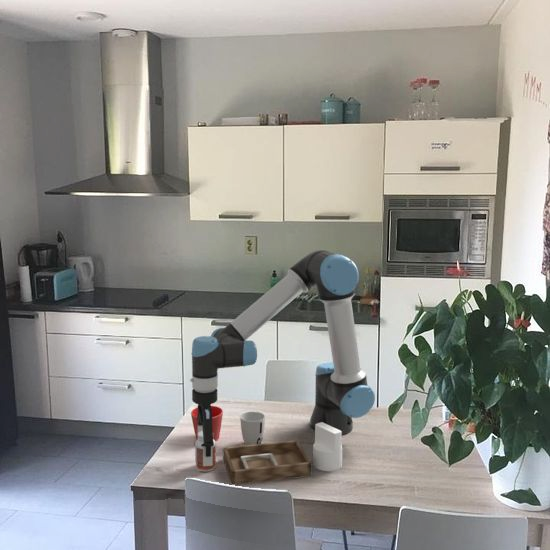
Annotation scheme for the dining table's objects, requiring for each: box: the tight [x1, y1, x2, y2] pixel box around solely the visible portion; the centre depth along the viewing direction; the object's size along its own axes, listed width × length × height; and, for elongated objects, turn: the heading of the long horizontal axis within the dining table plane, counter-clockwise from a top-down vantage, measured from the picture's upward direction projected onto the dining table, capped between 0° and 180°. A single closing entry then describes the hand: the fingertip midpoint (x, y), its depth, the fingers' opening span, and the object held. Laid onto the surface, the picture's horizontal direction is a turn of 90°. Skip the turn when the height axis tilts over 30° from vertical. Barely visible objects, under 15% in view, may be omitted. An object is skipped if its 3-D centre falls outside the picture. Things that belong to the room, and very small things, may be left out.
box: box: [222, 440, 313, 485], centre depth 188 cm, size 24×16×4 cm, turn 103°
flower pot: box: [190, 405, 224, 442], centre depth 207 cm, size 11×11×10 cm
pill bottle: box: [194, 431, 217, 473], centre depth 187 cm, size 6×6×11 cm
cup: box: [239, 411, 266, 445], centre depth 203 cm, size 8×8×10 cm
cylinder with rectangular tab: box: [312, 422, 343, 472], centre depth 190 cm, size 9×9×12 cm
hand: (204, 455), depth 187 cm, fingers open, 13 cm apart
